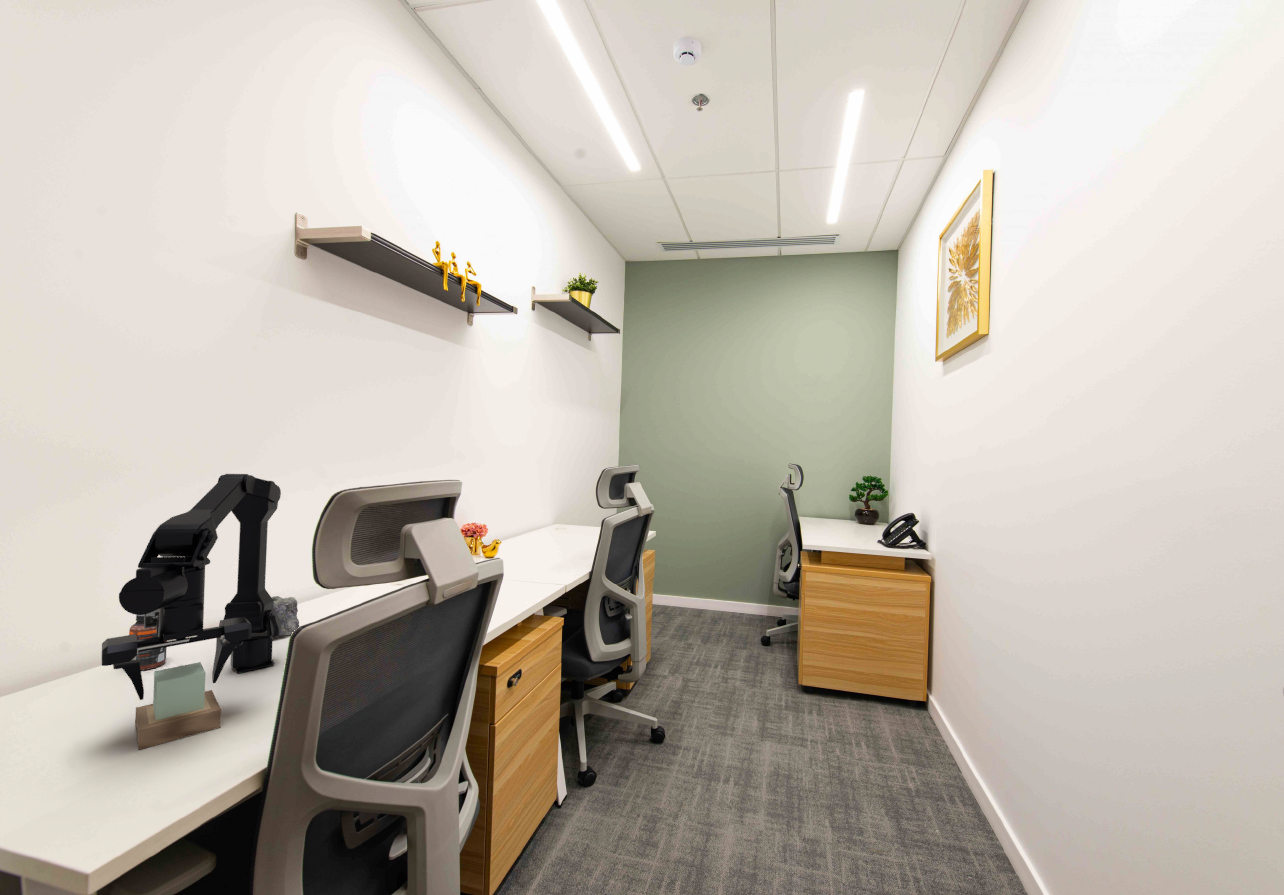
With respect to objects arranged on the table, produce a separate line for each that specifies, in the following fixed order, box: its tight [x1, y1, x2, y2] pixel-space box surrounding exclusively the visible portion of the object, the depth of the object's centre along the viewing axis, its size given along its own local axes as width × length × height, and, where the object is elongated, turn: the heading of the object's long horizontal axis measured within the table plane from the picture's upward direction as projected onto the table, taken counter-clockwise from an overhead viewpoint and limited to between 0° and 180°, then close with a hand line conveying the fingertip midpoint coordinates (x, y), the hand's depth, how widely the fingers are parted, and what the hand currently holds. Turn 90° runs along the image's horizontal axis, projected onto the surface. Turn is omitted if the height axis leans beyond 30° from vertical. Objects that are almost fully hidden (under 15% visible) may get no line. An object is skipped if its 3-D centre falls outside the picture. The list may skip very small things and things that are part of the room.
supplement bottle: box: [128, 615, 167, 671], centre depth 114 cm, size 6×6×11 cm
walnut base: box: [134, 689, 222, 751], centre depth 90 cm, size 10×10×3 cm
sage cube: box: [152, 661, 206, 720], centre depth 90 cm, size 6×6×6 cm
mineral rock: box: [271, 595, 300, 637], centre depth 132 cm, size 13×11×10 cm
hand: (179, 690), depth 90 cm, fingers open, 9 cm apart
